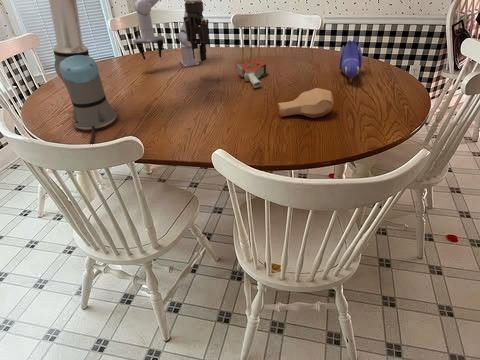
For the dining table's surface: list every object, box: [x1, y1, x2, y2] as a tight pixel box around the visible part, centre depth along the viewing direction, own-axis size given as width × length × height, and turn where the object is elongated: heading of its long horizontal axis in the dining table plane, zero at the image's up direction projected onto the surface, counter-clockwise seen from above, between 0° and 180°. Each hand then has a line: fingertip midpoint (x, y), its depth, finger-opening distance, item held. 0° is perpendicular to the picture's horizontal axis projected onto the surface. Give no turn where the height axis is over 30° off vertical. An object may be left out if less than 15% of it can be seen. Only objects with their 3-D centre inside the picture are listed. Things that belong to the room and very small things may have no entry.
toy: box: [338, 39, 363, 84], centre depth 153 cm, size 10×17×25 cm
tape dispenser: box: [236, 60, 267, 89], centre depth 159 cm, size 18×5×20 cm
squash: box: [277, 87, 335, 119], centre depth 127 cm, size 11×20×9 cm, turn 92°
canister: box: [194, 47, 202, 62], centre depth 157 cm, size 4×4×5 cm
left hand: (200, 59), depth 158 cm, fingers closed on canister, 4 cm apart
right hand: (152, 58), depth 173 cm, fingers open, 7 cm apart
